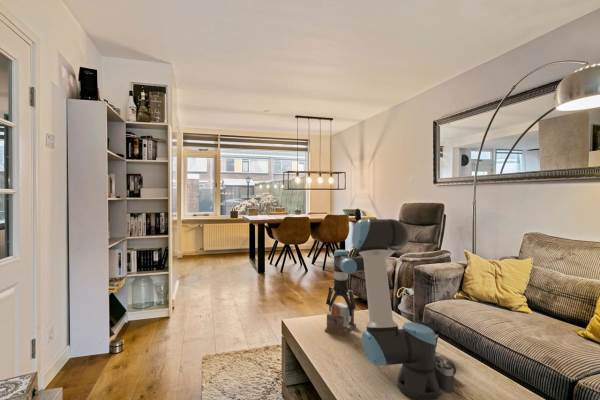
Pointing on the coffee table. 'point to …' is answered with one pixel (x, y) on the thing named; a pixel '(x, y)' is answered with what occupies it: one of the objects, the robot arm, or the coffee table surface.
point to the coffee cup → (433, 327)
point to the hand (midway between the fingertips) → (340, 319)
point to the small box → (341, 312)
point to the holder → (338, 325)
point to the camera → (445, 373)
